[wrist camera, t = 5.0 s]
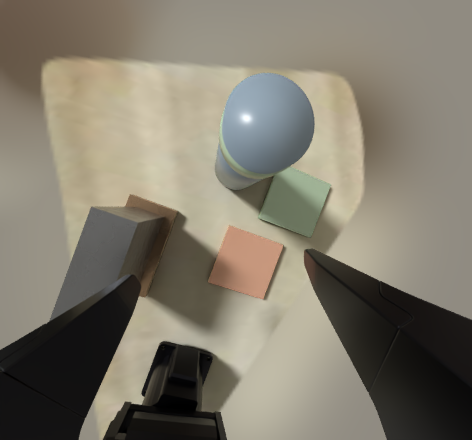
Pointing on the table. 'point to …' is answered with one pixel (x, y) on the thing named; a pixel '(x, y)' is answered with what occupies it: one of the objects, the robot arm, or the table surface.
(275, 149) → the cartridge
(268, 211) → the sage pad
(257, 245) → the terracotta pad
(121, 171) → the table surface
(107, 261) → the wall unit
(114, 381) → the table surface
